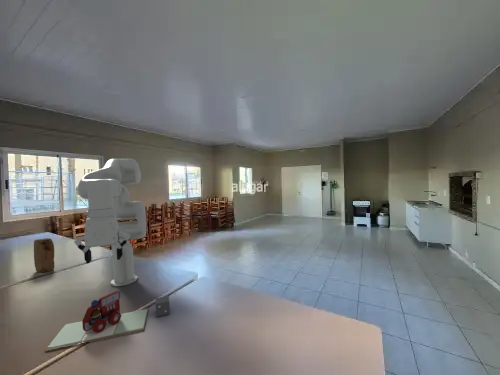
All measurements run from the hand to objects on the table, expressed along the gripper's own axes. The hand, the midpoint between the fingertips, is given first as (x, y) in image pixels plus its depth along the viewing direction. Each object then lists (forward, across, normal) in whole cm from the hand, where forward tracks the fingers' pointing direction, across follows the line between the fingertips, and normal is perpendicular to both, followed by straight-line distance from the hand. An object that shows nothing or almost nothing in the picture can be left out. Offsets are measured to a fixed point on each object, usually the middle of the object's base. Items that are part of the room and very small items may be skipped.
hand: (104, 260), depth 84 cm
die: (+21, +16, +1) cm, 27 cm away
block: (+25, -55, +80) cm, 101 cm away
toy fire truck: (+23, -1, -2) cm, 23 cm away
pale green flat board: (+24, -1, -2) cm, 24 cm away
